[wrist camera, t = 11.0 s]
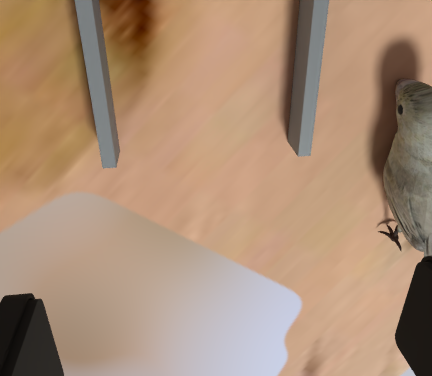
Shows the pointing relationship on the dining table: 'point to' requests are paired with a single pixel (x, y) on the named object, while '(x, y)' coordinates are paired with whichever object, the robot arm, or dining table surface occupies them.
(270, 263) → the dining table surface
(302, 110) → the lane box
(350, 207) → the dining table surface
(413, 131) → the decorative bird
